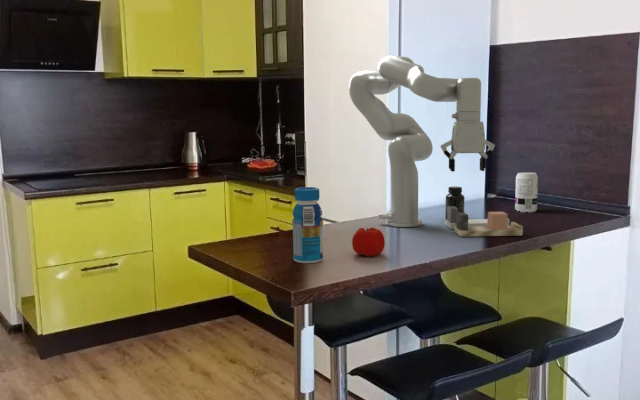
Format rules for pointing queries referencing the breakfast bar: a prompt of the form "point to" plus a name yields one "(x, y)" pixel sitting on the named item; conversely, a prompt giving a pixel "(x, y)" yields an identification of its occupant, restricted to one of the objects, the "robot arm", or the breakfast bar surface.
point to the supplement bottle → (455, 199)
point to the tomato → (368, 242)
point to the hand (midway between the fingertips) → (467, 170)
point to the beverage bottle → (307, 226)
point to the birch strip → (483, 228)
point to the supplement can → (526, 192)
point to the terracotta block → (497, 220)
